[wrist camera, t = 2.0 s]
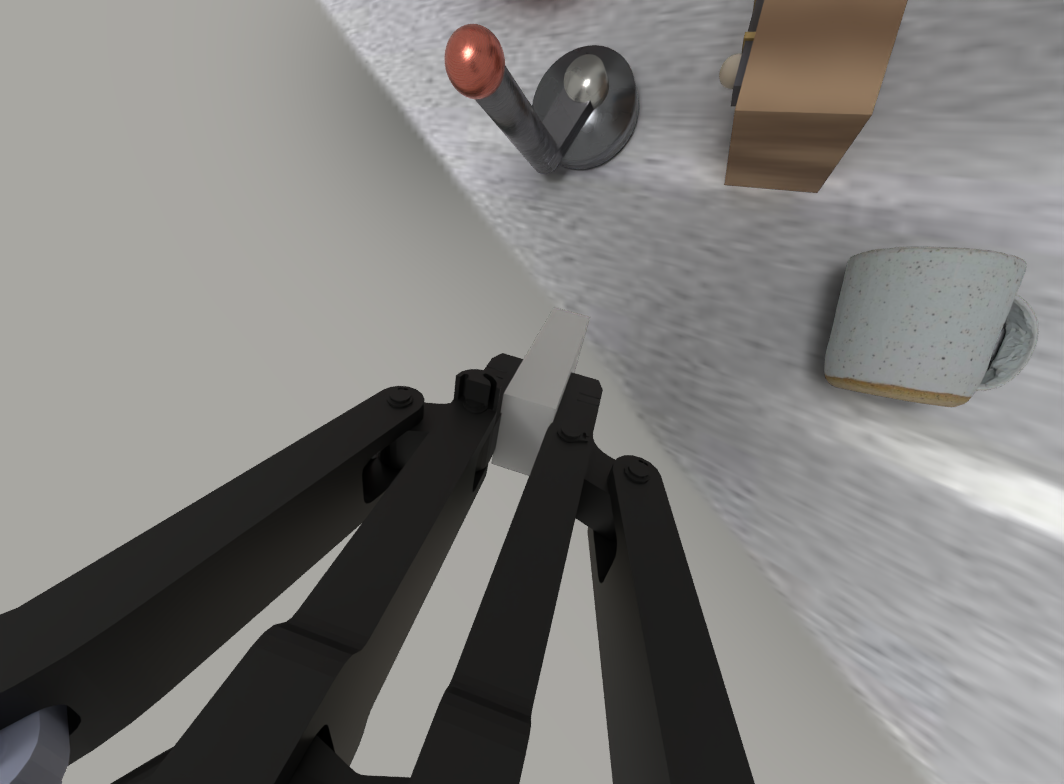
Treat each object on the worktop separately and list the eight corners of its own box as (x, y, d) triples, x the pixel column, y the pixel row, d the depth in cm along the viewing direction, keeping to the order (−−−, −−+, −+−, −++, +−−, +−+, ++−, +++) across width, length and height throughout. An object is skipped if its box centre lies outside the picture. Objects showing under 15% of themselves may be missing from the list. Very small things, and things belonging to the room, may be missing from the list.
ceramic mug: (805, 383, 30) (840, 391, 23) (832, 265, 29) (877, 235, 22) (997, 412, 27) (1109, 432, 20) (1036, 280, 26) (1168, 249, 19)
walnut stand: (745, 20, 30) (766, -132, 21) (870, 16, 28) (957, -159, 18) (702, 182, 32) (704, 109, 23) (817, 192, 29) (871, 114, 20)
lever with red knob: (579, 45, 34) (496, -176, 20) (660, 92, 32) (631, -116, 18) (508, 161, 37) (391, 39, 23) (579, 211, 35) (498, 111, 21)
